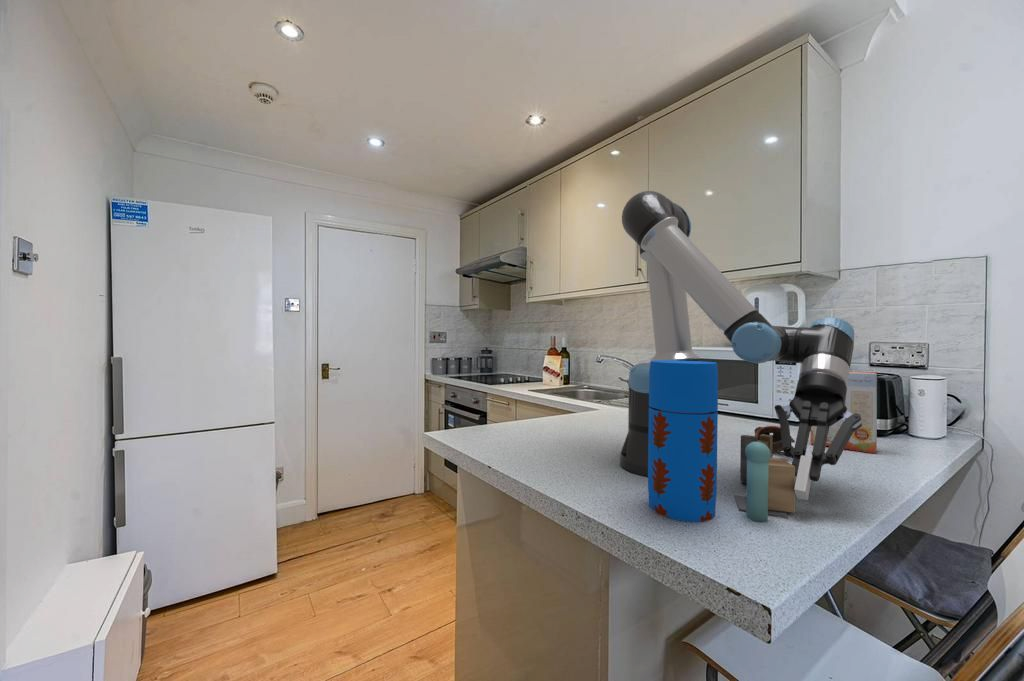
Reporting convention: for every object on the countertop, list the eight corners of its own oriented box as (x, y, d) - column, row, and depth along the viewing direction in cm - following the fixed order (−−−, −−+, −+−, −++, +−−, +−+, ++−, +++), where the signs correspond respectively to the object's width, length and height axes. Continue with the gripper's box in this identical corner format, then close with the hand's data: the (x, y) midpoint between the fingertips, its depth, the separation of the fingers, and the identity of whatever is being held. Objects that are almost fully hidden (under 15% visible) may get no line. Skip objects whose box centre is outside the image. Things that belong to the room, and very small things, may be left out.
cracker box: (876, 450, 110) (877, 372, 110) (876, 454, 106) (877, 373, 106) (812, 441, 120) (813, 369, 120) (809, 444, 115) (810, 370, 115)
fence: (747, 480, 85) (747, 441, 85) (761, 469, 92) (762, 434, 92) (758, 482, 84) (758, 443, 83) (772, 471, 90) (772, 435, 90)
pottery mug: (808, 461, 101) (802, 434, 99) (774, 477, 101) (767, 451, 98) (771, 437, 113) (765, 412, 110) (741, 452, 112) (733, 428, 110)
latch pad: (734, 496, 76) (734, 494, 76) (778, 502, 73) (778, 500, 73) (739, 510, 69) (739, 508, 69) (788, 518, 67) (788, 516, 67)
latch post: (741, 517, 67) (742, 441, 67) (748, 510, 69) (749, 438, 69) (766, 524, 64) (767, 445, 64) (772, 517, 67) (773, 442, 67)
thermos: (685, 527, 63) (687, 364, 63) (634, 502, 72) (636, 360, 72) (730, 514, 68) (732, 363, 68) (677, 492, 77) (679, 359, 77)
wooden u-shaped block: (732, 478, 85) (733, 434, 84) (759, 480, 83) (760, 435, 83) (760, 509, 69) (761, 455, 69) (794, 512, 68) (795, 457, 68)
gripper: (868, 400, 75) (855, 519, 64) (785, 393, 85) (760, 495, 73) (865, 373, 72) (850, 493, 60) (778, 368, 81) (751, 472, 69)
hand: (801, 494), depth 67 cm, fingers closed
